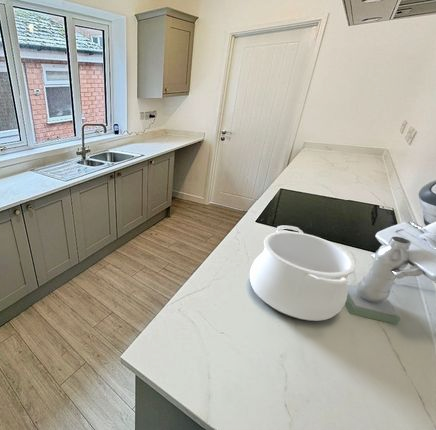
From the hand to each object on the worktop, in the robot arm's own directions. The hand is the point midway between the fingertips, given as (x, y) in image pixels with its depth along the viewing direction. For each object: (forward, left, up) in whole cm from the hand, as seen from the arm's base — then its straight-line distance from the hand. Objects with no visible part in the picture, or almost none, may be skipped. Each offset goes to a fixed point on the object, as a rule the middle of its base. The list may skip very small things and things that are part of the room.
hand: (383, 266), depth 71 cm
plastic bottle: (-1, 0, -12) cm, 12 cm away
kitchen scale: (-1, 0, -14) cm, 14 cm away
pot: (+19, +3, -15) cm, 24 cm away
